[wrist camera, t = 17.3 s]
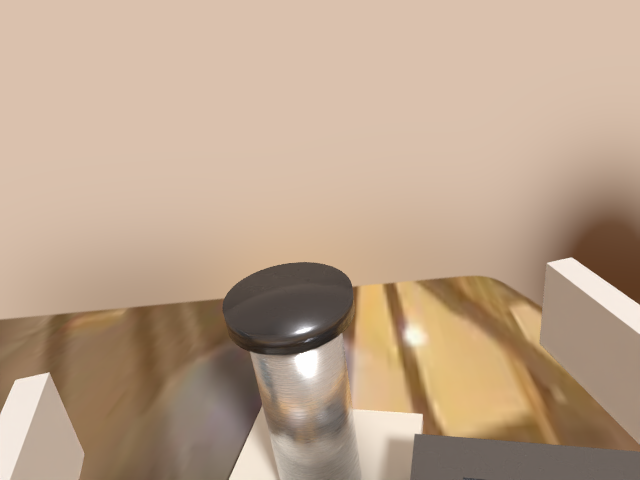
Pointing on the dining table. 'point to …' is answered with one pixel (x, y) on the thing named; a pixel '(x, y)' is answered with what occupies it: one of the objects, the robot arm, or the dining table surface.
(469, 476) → the housing
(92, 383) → the dining table surface
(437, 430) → the dining table surface
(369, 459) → the pad
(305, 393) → the flanged shaft
